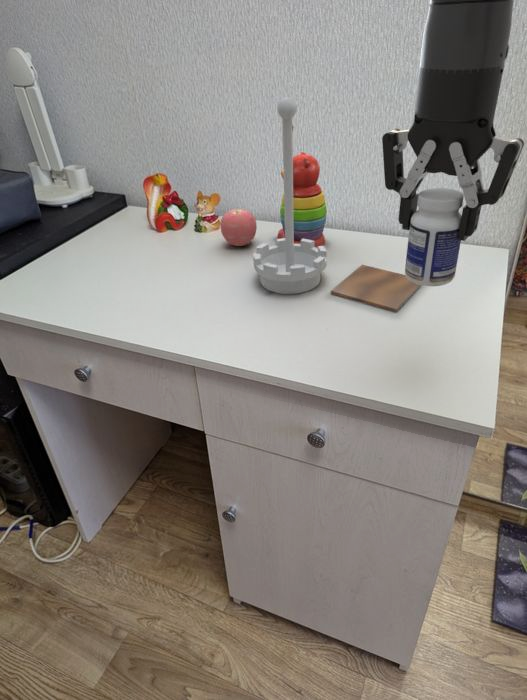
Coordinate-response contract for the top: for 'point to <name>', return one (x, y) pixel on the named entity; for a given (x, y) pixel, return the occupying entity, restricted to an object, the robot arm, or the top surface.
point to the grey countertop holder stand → (289, 233)
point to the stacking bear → (306, 202)
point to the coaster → (377, 288)
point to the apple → (238, 227)
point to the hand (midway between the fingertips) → (435, 232)
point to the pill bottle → (434, 237)
